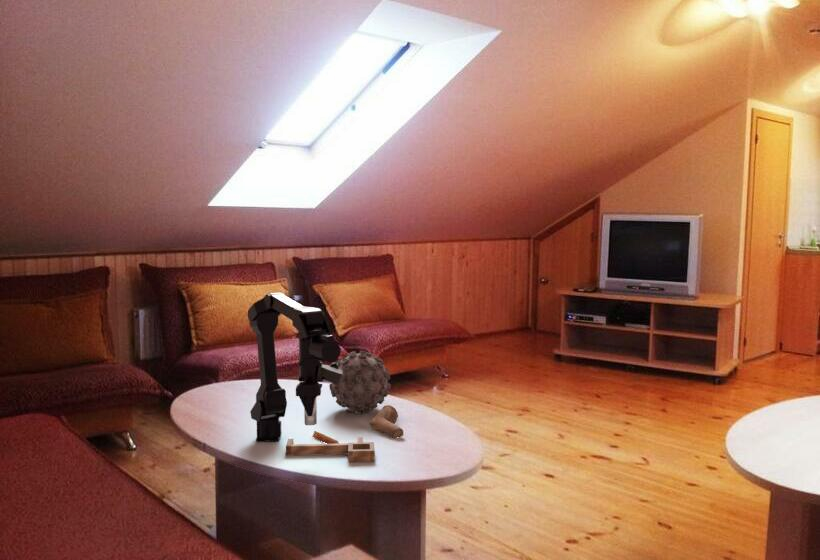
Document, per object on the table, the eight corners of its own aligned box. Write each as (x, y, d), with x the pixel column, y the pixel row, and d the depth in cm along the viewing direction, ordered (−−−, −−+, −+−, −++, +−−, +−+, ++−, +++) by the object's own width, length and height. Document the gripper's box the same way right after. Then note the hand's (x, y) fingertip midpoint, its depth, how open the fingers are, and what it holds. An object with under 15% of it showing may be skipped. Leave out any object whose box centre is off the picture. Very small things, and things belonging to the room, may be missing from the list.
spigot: (304, 425, 188) (303, 395, 187) (305, 421, 191) (304, 392, 191) (316, 425, 188) (316, 395, 188) (317, 421, 192) (316, 392, 191)
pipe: (392, 425, 207) (419, 413, 213) (360, 412, 220) (386, 401, 226) (395, 445, 208) (421, 433, 214) (363, 431, 221) (389, 420, 227)
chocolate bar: (333, 449, 201) (333, 441, 200) (311, 439, 210) (311, 431, 210) (341, 447, 202) (341, 439, 202) (318, 437, 211) (318, 429, 211)
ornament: (378, 400, 250) (378, 344, 249) (397, 416, 232) (398, 356, 230) (323, 406, 244) (323, 348, 242) (338, 422, 225) (338, 360, 223)
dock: (283, 463, 188) (283, 452, 188) (288, 447, 201) (287, 437, 200) (374, 461, 190) (374, 450, 189) (373, 445, 203) (373, 435, 202)
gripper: (339, 363, 179) (340, 424, 181) (341, 349, 198) (341, 404, 199) (295, 364, 179) (295, 424, 180) (300, 349, 197) (301, 405, 199)
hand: (310, 414), depth 190 cm, fingers closed on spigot, 3 cm apart
